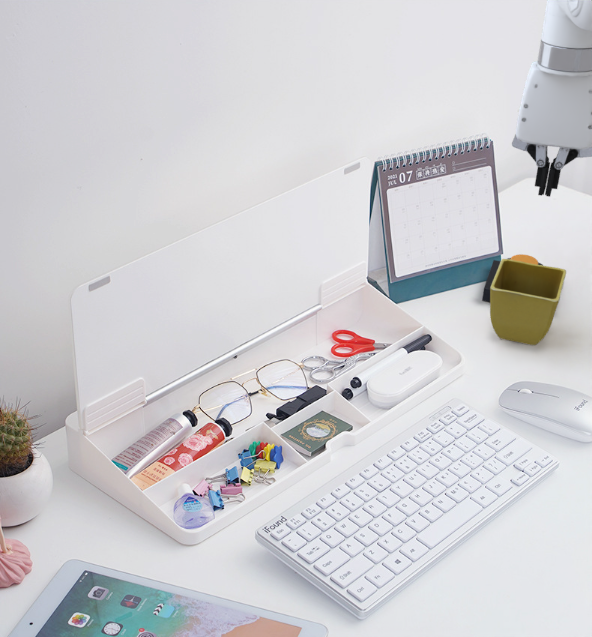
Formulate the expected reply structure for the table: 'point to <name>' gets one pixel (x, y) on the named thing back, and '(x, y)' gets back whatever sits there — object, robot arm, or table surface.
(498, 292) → the flower pot
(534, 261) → the switch button
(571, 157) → the robot arm
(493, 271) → the switch
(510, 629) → the table surface
